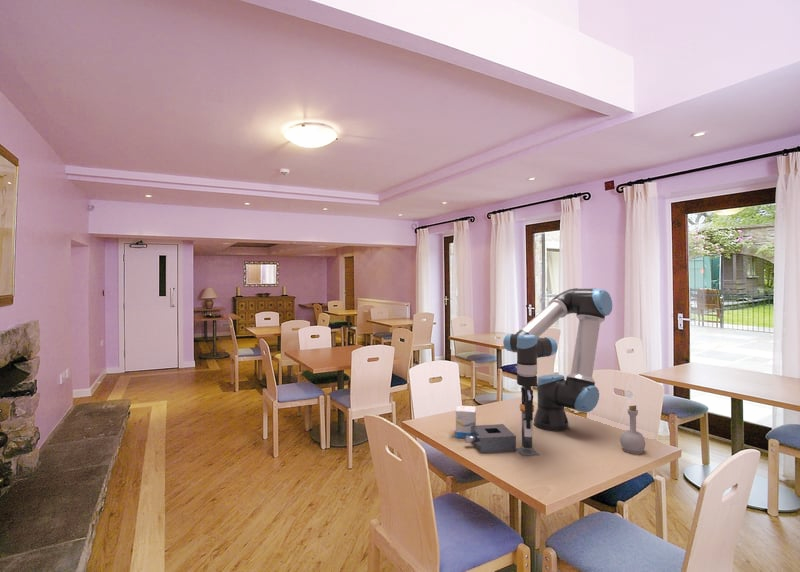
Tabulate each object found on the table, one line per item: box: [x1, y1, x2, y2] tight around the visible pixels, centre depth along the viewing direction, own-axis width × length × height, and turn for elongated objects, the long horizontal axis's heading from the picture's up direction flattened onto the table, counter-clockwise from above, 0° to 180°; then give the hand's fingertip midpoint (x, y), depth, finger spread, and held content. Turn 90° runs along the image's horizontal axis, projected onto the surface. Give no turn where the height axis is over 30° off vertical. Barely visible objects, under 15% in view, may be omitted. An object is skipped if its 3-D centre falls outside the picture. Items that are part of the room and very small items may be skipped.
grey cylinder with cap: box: [519, 403, 535, 448], centre depth 166 cm, size 5×5×16 cm
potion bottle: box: [619, 405, 646, 455], centre depth 167 cm, size 9×9×18 cm
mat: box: [516, 447, 541, 457], centre depth 166 cm, size 7×7×1 cm
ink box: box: [455, 405, 477, 439], centre depth 185 cm, size 9×8×12 cm
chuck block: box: [465, 423, 517, 454], centre depth 173 cm, size 18×14×6 cm
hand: (527, 434), depth 166 cm, fingers closed on grey cylinder with cap, 4 cm apart
